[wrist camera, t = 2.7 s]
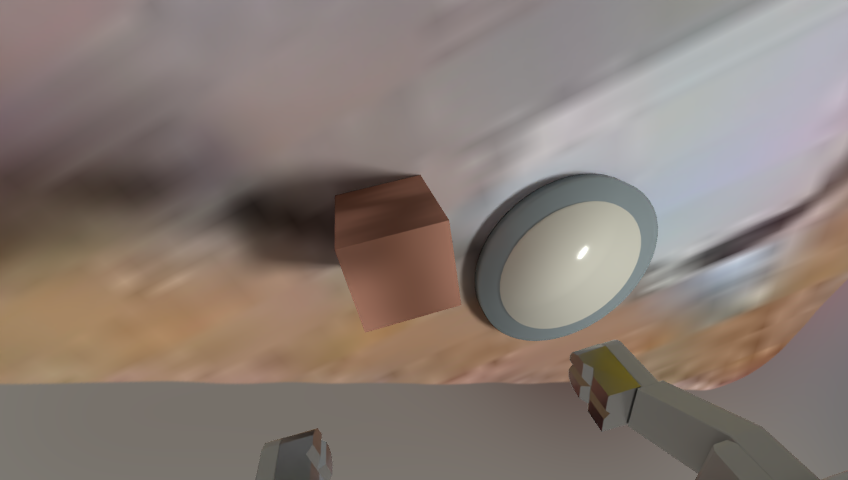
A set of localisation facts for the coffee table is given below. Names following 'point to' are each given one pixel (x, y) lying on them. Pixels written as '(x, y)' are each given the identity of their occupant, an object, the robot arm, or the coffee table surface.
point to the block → (395, 252)
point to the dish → (565, 256)
